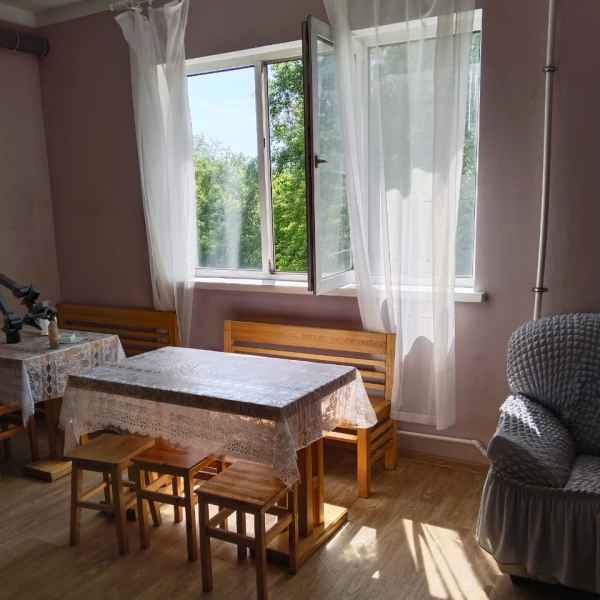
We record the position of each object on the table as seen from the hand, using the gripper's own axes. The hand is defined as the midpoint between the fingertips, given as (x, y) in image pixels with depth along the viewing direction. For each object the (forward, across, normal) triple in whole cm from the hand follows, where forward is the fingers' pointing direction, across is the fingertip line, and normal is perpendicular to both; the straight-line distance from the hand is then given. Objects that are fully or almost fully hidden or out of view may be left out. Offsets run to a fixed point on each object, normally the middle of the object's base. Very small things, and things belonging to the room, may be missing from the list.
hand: (49, 328), depth 323 cm
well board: (+4, +13, +11) cm, 17 cm away
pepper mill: (+9, 0, +6) cm, 11 cm away
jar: (-11, +21, +26) cm, 35 cm away
